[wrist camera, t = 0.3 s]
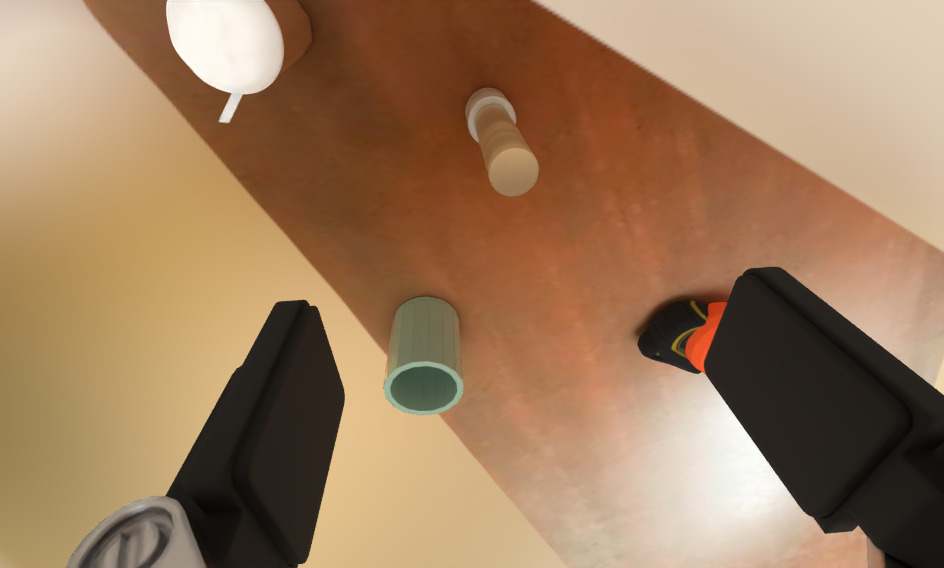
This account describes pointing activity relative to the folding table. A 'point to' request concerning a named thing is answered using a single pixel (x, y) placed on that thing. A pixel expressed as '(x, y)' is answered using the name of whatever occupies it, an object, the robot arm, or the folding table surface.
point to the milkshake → (238, 42)
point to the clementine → (704, 336)
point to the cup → (424, 357)
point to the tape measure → (673, 333)
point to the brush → (501, 142)
